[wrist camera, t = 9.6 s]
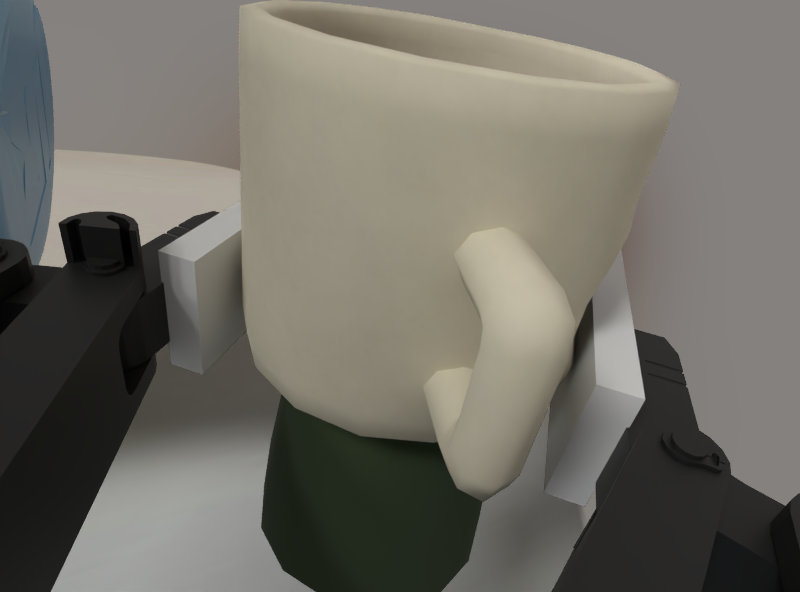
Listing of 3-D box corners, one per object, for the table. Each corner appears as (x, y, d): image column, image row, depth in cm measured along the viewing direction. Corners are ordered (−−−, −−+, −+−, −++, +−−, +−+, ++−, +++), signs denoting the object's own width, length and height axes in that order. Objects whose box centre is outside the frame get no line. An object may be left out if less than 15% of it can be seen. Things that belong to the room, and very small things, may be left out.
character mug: (548, 720, 12) (971, 176, 5) (221, 767, 10) (150, 75, 3) (442, 386, 21) (538, 26, 14) (258, 386, 19) (261, -20, 12)
